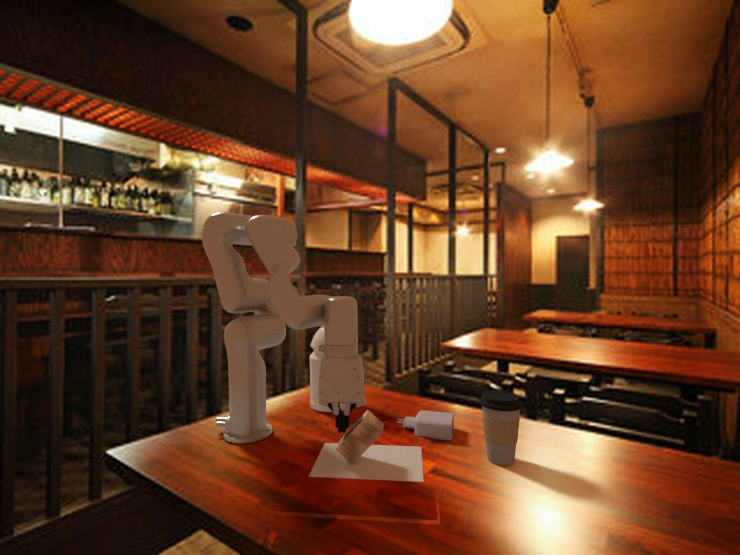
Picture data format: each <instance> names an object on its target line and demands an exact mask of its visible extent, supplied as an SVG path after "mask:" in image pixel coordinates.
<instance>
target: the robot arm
mask: <svg viewBox="0 0 740 555" xmlns="http://www.w3.org/2000/svg"><path fill="white" fill-rule="evenodd" d="M298 235H299V234H298V229H297V227H296V225H295V224H294V222H293V221H292V220H290V219H289V218H286V217H281V216H276V215H275V216H274V215H269V214H268V215H267V214H258V215H250V214H249V215H248V214H243V213H237V212H236V213H235V212H229V211H227V212H226V211H224V212H223V211H221V212H219V211H218V212H216V213H215V212H214V213H212V214H211V215H209V216H208V217H207V218H206V219H205V221H204V224H203V225H202V232H201V240H202V246H203V249H204V252H205V254H206V256H207V258H208V261H209V263H210V266H211V268H212V271H213V275H214V276H213V277H214V280H215V283H216V288H217V291H218V292H217V293H218V296H219V298H220V302H221V306H222V307H223V309H224V311H226V312H227V313H231V314H241V313H251V312H253V313H254V314H253V315H246V316H239V317H237V318H235V319H233V320H231V321H229V323H228V324H227V325H226V326H225V329H224V332H223V340H224V344H225V349H226V356H227V366H228V367H227V368H228V407H229V408H228V417H227V416H217V417H216V419H215V424H216V425H215V426H216V427H217V428H224V430H223V440H225V441H226V442H228V443H231V442H232V444H249V443H250V444H251V443H256V442H259V441H262V440H264V439H266V438H268V437H269V436H270V435H271V434H272V433H273V426H272V424H271V423H269V422H267V371H266V370H267V369H266V364H265V360H264V358H263V357H262V355H261V354H260V351H261V350H265V349H270V348H272V347H276V346H278V345H280V344H281V343H283V341H284V340H285V338H286V336H287V335H286V334H287V328H286V326H287V327H289V328H291V329H293V330H298V331H299V330H300V331H301V330H306V329H310V328H316V327H322V326H323V325H325V344H324V345H322V346H319V351H322V352H324V355H325V356H323V357H322V358H321V363H320V371H319V387H318V397H319V404H320V405H323V406H327V407H329V408H330V409H331V410H332V411H333V412H332V413H333V415H334V416H335V417H334V418H335V420H334V421H335V428H336V429H337V433H338V434H346V433H347V431H348V429H350V423H351V422H350V413H352V412H353V410H355V408H361V407H364V406H366V403H367V401H366V398H365V392H366V391H365V387H366V386H365V375H364V373H365V372H364V367H363V366H364V365H363V360H362V356H361V355H359V330H358V329H359V328H358V324H359V323H358V322H359V321H358V320H359V319H358V317H359V316H358V315H359V313H358V310H359V309H358V302H357V299H356V298H354V297H353V296H349V295H348V296H347V295H345V296H343V295H342V296H333V295H327V294H308V295H300V294H299V292H298V291H297V290H296V288H295V286H294V285H293V284H292V283H293V282H291V279H290V274H291V273H293V272H294V271H295V270H296V269H297V268H298V266H299V265H300V263H301V262H300V261H301V256H300V254H299V253H298V251H297V250H296V248H295V247H294V246H295V244H296V243H297V240H298ZM234 245H239V246H240V245H241V246H252V248H253V249H254V251H255V252H256V254H257V255H258V257H259V259H260V260H261V262H262V263H263V265H264V267H265V269H267V272H268V273H269V276H268V279H266V278H262V277H250V276H249V274H248V271H247V267H246V263H245V260H244V259H243V257H242V256H241V254H240V253H239V251H237V250H236V249H235V248H234V247H233V246H234ZM340 403H345V408H344V410H343V411H342V409H341V406H340Z"/></svg>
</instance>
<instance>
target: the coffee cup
mask: <svg viewBox="0 0 740 555" xmlns="http://www.w3.org/2000/svg"><path fill="white" fill-rule="evenodd" d="M478 402H479V405H481V409H482V413H481V414H482V415H481V417H482V426H483V434H484V440H485V448H486V457H487V460H488V461H489V463H491V464H494V465H497V466H499V467H509V466H512V465H513V464H514V463H515V458H516V449H517V443H518V438H519V437H518V436H519V429H520V420H521V419H520V418H521V417H520V413H521V409H522V408H523V402H522V400H520V397H519V396H518V394H516V393H514V392H510V391H507V390H500V389H499V390H497V389H495V390H494V389H493V390H487V391H484V392H483V393H482V396H481V397H480V398H479V400H478Z"/></svg>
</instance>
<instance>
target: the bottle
mask: <svg viewBox="0 0 740 555" xmlns="http://www.w3.org/2000/svg"><path fill="white" fill-rule="evenodd" d="M324 344H325V325H323V326H320V327H319V329H318V330H317V331H315V334H314V335H313V338H312V340H311V342H310V345H309V346H310V348H311V349H312V350H313V351H312V352H311V353H310V355H309V390H310V391H309V394H310V395H309V396H310V397H309V398H310V399H309V404H310V405H309V406H310V408H312V409H313V410H315V411H317V412H322V413H333V411H332V410H331V409H330V408H329V407H327V406H323V405H320V404H319V397H318V387H319V371H320V363H321V358H322V357H323V356H325V355H324V352H322V351H319V346H322V345H324ZM340 406H341V409H342V412H343V411H344V408H345V403H340Z"/></svg>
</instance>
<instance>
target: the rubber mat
mask: <svg viewBox="0 0 740 555" xmlns="http://www.w3.org/2000/svg"><path fill="white" fill-rule="evenodd" d="M337 446H338V443H337V442H336V443H333V442H329V443H328V442H325V443H324V444H323V446H322V448H321V450H320V452H319V454H318V456H317V458H316V460H315V462H314V463H313V464H314V465H313V467H312V469H311V471H310V473H309V475H308V477H310V478H311V477H312V478H331V479H332V478H333V479H334V478H335V479H350V480H352V479H354V480H374V481H375V480H376V481H395V482H413V483H414V482H415V483H418V482H419V483H424V481H425V480H424V468H423V453H422V452H423V451H422V446H414V445H413V446H412V445H411V446H410V445H390V444H389V445H387V444H386V445H385V444H384V445H383V444H372V445H371V446H370V447H369V448H368V449H367V450H366V451H365V452H364V453H363V454H362V455H361V457H360V458H359V459H358V460H357V461H356V462H355V463H354V464H353V465H352V464H351V463H350V462H348V461H347V460H346V459H345V458H344V457H343V456H342V455H341V454H340V453H339V452H338V451H337V450H336V448H337Z"/></svg>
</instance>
